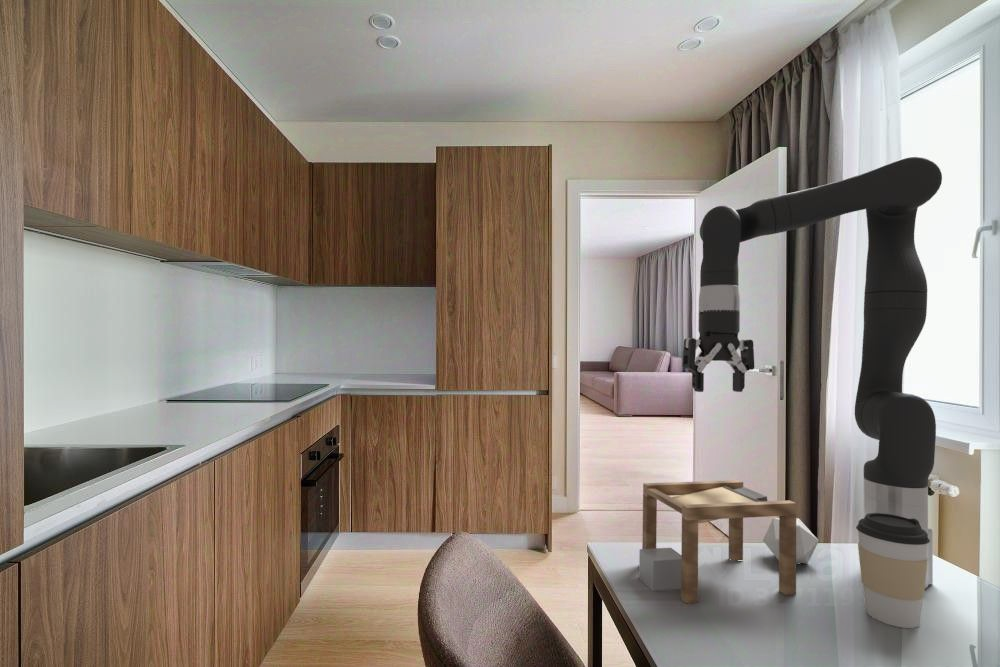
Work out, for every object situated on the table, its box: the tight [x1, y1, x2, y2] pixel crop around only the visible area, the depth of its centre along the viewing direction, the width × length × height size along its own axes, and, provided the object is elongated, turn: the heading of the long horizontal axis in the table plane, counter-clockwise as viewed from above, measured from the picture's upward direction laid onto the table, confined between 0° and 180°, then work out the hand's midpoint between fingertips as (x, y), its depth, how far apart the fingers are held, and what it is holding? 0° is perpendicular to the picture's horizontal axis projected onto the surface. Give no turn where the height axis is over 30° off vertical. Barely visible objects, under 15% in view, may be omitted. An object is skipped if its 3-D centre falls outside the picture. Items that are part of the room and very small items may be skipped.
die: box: [762, 517, 820, 564], centre depth 100 cm, size 8×9×10 cm
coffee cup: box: [855, 513, 930, 629], centre depth 80 cm, size 9×9×15 cm
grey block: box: [638, 547, 681, 592], centre depth 89 cm, size 5×5×6 cm
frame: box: [641, 479, 797, 604], centre depth 91 cm, size 20×15×15 cm
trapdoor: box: [670, 486, 768, 524], centre depth 92 cm, size 15×11×3 cm
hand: (718, 391), depth 102 cm, fingers open, 8 cm apart
